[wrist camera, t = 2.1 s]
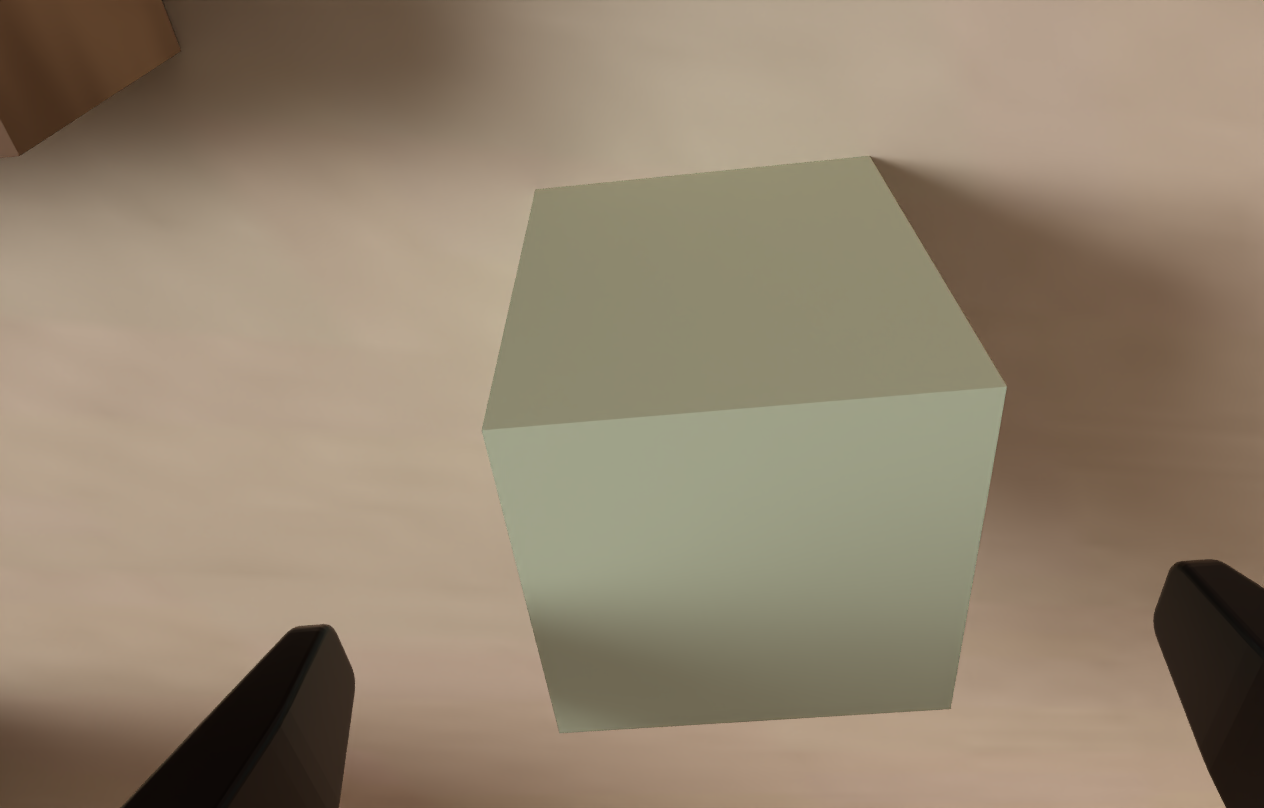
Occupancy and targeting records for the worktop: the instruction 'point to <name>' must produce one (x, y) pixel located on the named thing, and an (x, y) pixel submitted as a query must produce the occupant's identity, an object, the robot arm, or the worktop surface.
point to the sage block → (740, 449)
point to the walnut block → (72, 60)
